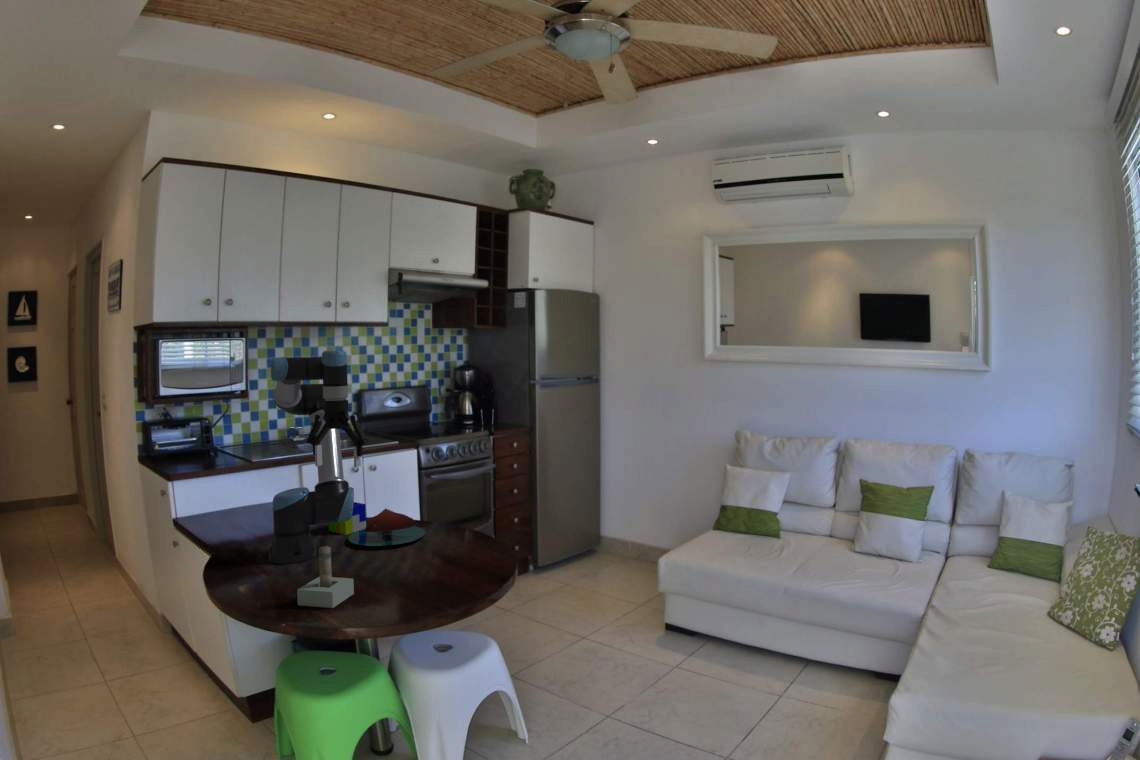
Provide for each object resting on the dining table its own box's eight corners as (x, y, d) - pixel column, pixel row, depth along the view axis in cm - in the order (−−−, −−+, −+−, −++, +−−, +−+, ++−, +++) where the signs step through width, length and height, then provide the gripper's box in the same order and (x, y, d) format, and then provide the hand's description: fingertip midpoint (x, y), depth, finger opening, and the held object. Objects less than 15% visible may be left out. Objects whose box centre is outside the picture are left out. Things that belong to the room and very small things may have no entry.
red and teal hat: (352, 554, 236) (351, 523, 236) (345, 534, 262) (344, 506, 261) (432, 544, 247) (431, 514, 247) (417, 525, 273) (417, 498, 272)
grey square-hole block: (297, 605, 190) (297, 589, 190) (320, 591, 201) (319, 576, 201) (332, 608, 188) (332, 592, 188) (353, 593, 199) (353, 578, 198)
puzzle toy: (366, 528, 270) (365, 504, 269) (345, 535, 261) (345, 509, 261) (349, 525, 275) (348, 501, 275) (329, 531, 267) (328, 506, 266)
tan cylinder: (317, 600, 194) (316, 548, 193) (326, 596, 197) (325, 545, 196) (326, 602, 192) (324, 550, 191) (335, 598, 195) (333, 547, 194)
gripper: (377, 398, 215) (379, 464, 216) (307, 398, 220) (310, 462, 221) (365, 400, 207) (367, 469, 208) (293, 400, 213) (296, 467, 214)
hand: (338, 466), depth 215 cm, fingers open, 13 cm apart
